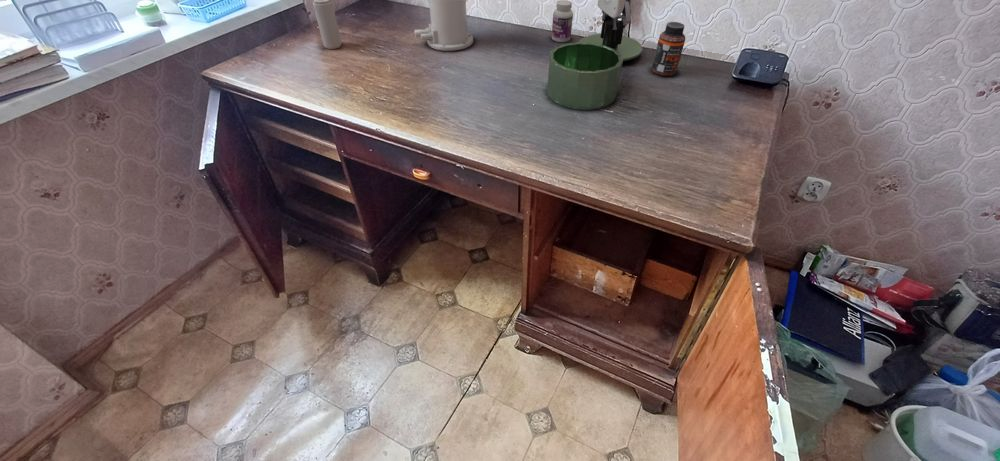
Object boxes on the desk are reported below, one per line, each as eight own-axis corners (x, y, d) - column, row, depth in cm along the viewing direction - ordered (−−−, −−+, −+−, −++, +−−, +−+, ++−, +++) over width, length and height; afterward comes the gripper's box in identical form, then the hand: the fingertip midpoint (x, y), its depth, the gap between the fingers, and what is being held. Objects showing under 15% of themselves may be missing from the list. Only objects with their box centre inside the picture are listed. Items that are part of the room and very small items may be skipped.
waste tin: (563, 114, 100) (567, 76, 94) (537, 82, 111) (539, 47, 105) (628, 103, 103) (635, 66, 97) (597, 74, 114) (602, 39, 108)
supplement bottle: (662, 79, 112) (674, 31, 104) (646, 69, 116) (656, 22, 108) (681, 74, 114) (694, 26, 106) (664, 64, 118) (676, 18, 110)
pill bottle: (548, 40, 129) (550, 3, 123) (555, 34, 133) (558, -3, 126) (566, 44, 128) (569, 6, 121) (573, 37, 131) (577, 0, 124)
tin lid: (594, 67, 115) (598, 37, 110) (567, 42, 126) (569, 14, 121) (653, 58, 118) (660, 29, 113) (622, 35, 130) (627, 7, 125)
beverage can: (320, 48, 126) (307, 0, 117) (331, 41, 129) (319, -5, 121) (335, 51, 124) (323, 3, 116) (346, 44, 128) (335, -3, 119)
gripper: (592, -46, 113) (583, 31, 126) (626, -28, 101) (612, 55, 114) (620, -49, 115) (608, 28, 127) (656, -31, 103) (639, 51, 116)
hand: (610, 40), depth 120 cm, fingers closed on tin lid, 4 cm apart
